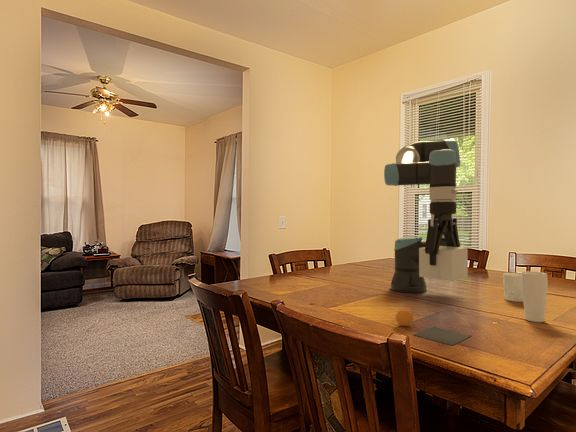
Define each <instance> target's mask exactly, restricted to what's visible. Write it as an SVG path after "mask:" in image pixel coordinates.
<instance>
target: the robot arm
mask: <svg viewBox="0 0 576 432" xmlns="http://www.w3.org/2000/svg"><path fill="white" fill-rule="evenodd" d="M460 166H461V157H460V150H459V145H458V142H457V141H456V140H455V139H438V140H437V139H434V140H425V141H423V140H422V141H415V142H412V143H410V144H408V145H405V146H403V147H402V148H401V149H399V151H398V152H397V154H396V155H395V163H394V162H393V163H389V164H386V165H385V166H384V172H383V175H384V183H385V185H386V186H390V187H391V186H392V187H393V186H395V187H397V186H413V185H414V186H416V185H417V186H421V185H429V197H428V198H429V200H430V203H429V214H430V218H429V219H427V231H426V232H427V233H426V239H423V237H422V236H421V235H420V236H417V235H416V236H409V237H402V238H397V239H396V240H395V241H394V273H393V276H392V280H391V282H390V289H391V290H392V291H395V292H399V293H407V294H408V293H409V294H410V293H411V294H413V293H414V294H416V293H418V294H419V293H424V292H426V291H427V288H428V287H427V282H426V278H425V277H419V248H422V247H425V252H426V254H429V276H435V277H439V254H437V253H438V250H439V246H450V247H461V241H460V239H459V231H458V219H457V218H456V217H455V218H453V215H456V214H457V202H456V200H457V193H458V190H457V168H460Z"/></svg>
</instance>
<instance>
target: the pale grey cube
mask: <svg viewBox="0 0 576 432" xmlns="http://www.w3.org/2000/svg"><path fill="white" fill-rule="evenodd" d="M468 249H469V248H468V247H462V246H460V247H450V246H439V250H438V253H437V254H439V277H435V276H429V254H426V252H425V247H422V248H419V277H424V278H425V279H426V278H430V279H435V280H442V281H450V282H454V281H457V280H461V279H463V278H467V277H468V274H469V273H468V269H469V268H468V265H469V264H468V263H469V262H468V261H469V260H468V258H469V257H468V253H469V251H468Z"/></svg>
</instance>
